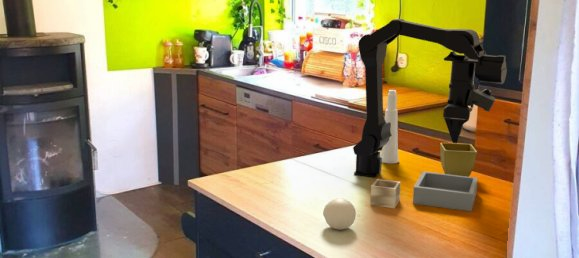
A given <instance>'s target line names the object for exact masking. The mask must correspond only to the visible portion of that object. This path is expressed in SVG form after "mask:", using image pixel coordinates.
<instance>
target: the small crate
mask: <svg viewBox="0 0 579 258" xmlns="http://www.w3.org/2000/svg"><path fill="white" fill-rule="evenodd" d="M400 195H401V181H396V180H388V179H381V178H377V179H376V180H375V181H374V182H373V183H372V184H371V186H370V206H377V207H382V208H383V207H385V208H390V209H396V207H397V205H398V204H399V202H400V198H401V197H400Z"/></svg>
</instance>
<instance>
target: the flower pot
mask: <svg viewBox="0 0 579 258" xmlns="http://www.w3.org/2000/svg"><path fill="white" fill-rule="evenodd" d="M439 147H440V165H441V167H442V170H443V174H449V175H458V176H467V177H471V175H472V172H473V170H474V167H475V164H476V158H477V154H478V151H477V150H476V148H475V147H474V146H473V144H472V143H461V142H460V143H459V142H457V143H453V142H440V146H439Z"/></svg>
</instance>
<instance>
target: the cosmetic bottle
mask: <svg viewBox="0 0 579 258" xmlns="http://www.w3.org/2000/svg"><path fill="white" fill-rule="evenodd" d="M386 101H387V102H386V109H385V111H384V119H385V121H386V123H388V122H390V123H391V128H390V132H391V135H392V136H391V137H389V141H388V143H387V144H386V145H384V146H383V148H382V150H381V151H380V157H381V158H382V164H390V165H391V164H397V163H399V162H400V158H399V149H398V147H399V145H398V144H399V141H398V140H399V138H398V130H399V129H398V126H399V125H398V123H399V120H398V118H399V117H398V116H399V115H398V114H399V113H398V112H399V111H398V109H397V103H398V102H397V101H398V93H397V90H395V89H389V90H388V93H387V100H386Z"/></svg>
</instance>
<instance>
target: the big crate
mask: <svg viewBox="0 0 579 258" xmlns="http://www.w3.org/2000/svg"><path fill="white" fill-rule="evenodd" d="M477 188H478V177H473V176H469V177H467V176H458V175H449V174H445V173H440V172H439V173H438V172H430V171H424V170H423V171H422V172H421V174H420V176H419V177H418V179H417V181H416V183H415V184H414V186H413V192H412V193H413V194H412V196H413V197H412V204H414V205H422V206H430V207H435V208H443V209H451V210H452V209H453V210H456V211H457V210H458V211H466V212H472V211H473V207H474V203H475V200H476V197H477V196H476V195H477V191H478V190H477Z"/></svg>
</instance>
